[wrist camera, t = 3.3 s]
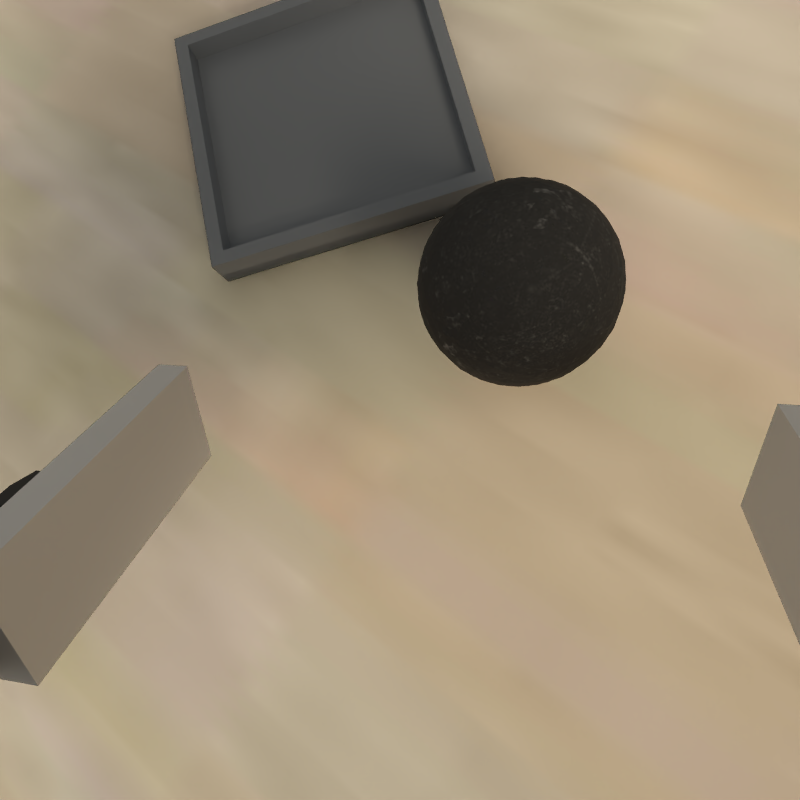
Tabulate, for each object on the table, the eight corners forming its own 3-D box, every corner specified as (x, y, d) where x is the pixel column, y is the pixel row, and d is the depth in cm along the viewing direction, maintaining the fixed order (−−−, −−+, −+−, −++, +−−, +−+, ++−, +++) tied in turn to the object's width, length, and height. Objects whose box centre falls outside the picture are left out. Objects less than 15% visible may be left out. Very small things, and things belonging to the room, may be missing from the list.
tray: (426, -21, 28) (422, -51, 26) (494, 199, 25) (494, 179, 23) (190, 63, 29) (174, 38, 28) (228, 281, 26) (211, 266, 25)
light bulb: (463, 279, 24) (435, 114, 15) (601, 305, 23) (671, 144, 13) (427, 408, 23) (373, 323, 14) (570, 443, 22) (621, 376, 12)
